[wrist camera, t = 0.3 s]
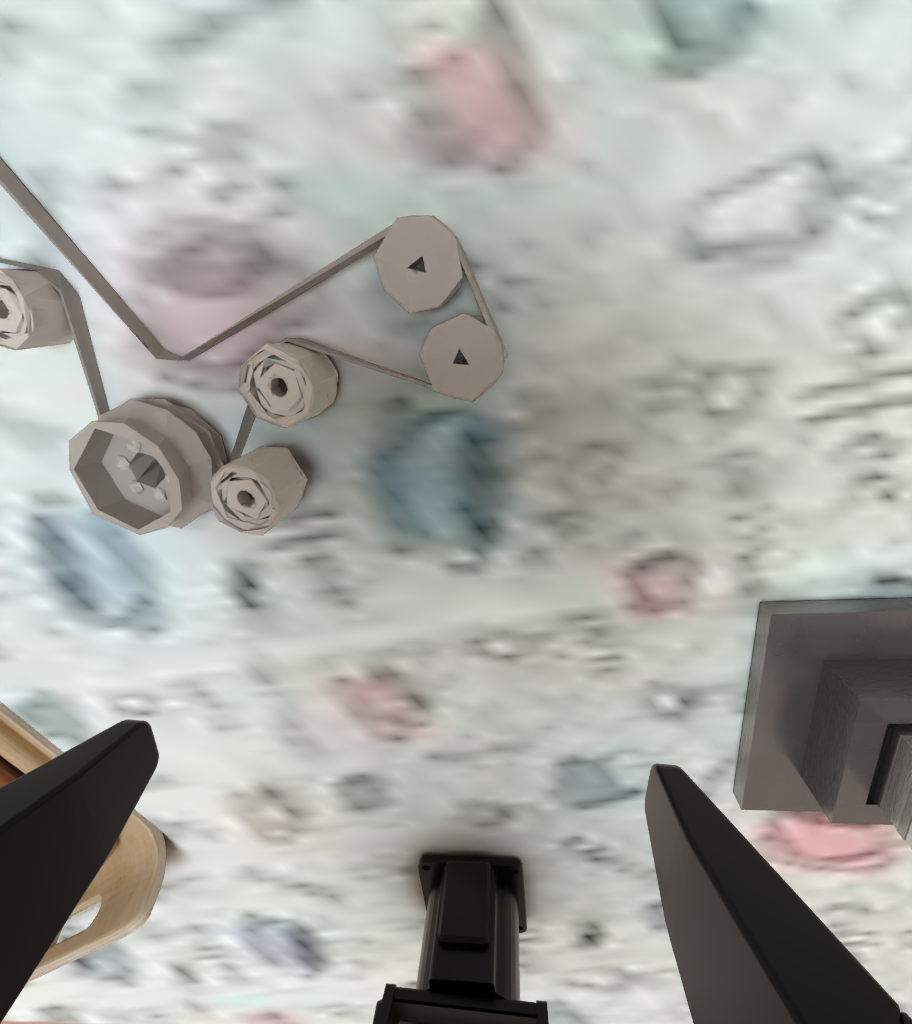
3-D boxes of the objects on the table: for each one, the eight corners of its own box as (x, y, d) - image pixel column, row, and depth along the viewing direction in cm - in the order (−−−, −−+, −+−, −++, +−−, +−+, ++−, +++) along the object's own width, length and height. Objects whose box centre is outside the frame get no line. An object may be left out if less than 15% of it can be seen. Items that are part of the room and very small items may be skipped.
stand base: (982, 797, 25) (1053, 868, 21) (733, 792, 26) (765, 858, 23) (1062, 593, 20) (1166, 643, 17) (760, 602, 22) (803, 649, 19)
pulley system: (447, 575, 24) (538, 248, 18) (428, 634, 20) (538, 233, 14) (-49, 430, 25) (-131, 70, 19) (-166, 457, 21) (-323, 5, 15)
